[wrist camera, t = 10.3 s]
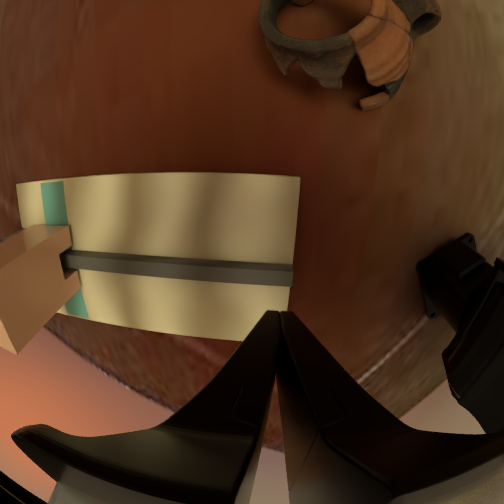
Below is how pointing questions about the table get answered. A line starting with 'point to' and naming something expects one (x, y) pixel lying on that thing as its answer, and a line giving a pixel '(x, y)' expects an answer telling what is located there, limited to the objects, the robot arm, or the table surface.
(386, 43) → the pottery mug
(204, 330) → the rail board
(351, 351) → the table surface
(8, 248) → the notched tan block
